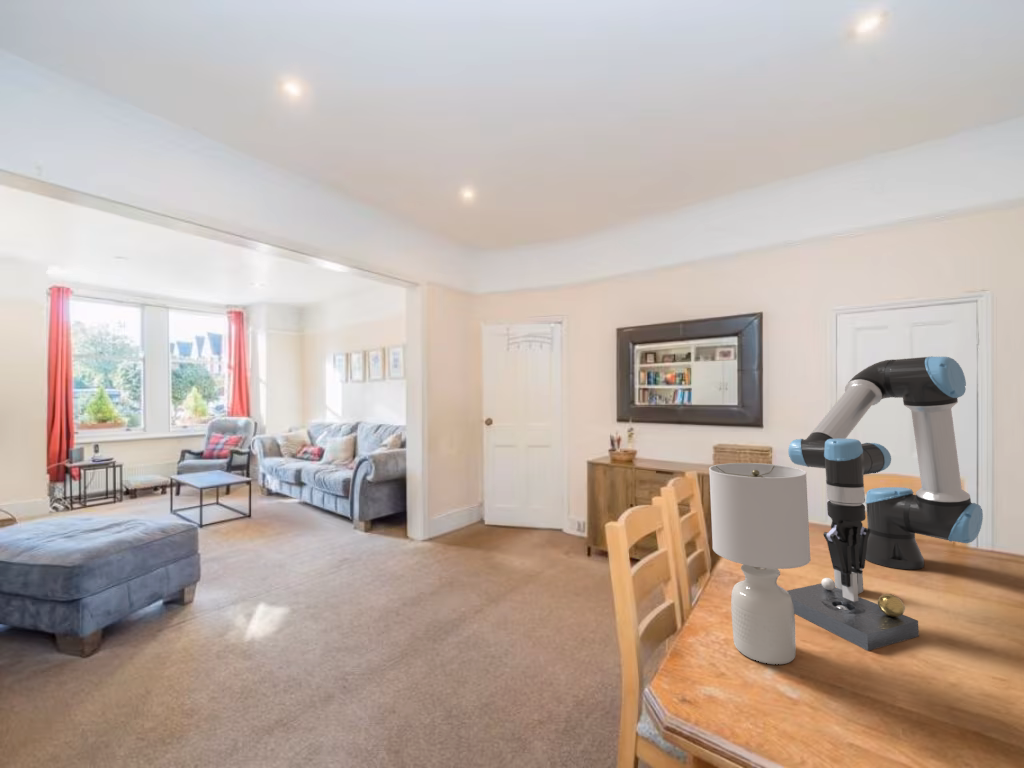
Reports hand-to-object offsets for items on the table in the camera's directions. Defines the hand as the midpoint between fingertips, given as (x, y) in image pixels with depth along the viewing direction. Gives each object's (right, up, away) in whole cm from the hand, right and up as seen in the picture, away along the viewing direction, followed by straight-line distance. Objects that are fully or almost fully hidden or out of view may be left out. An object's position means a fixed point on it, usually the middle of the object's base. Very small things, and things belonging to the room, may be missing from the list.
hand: (850, 598), depth 111 cm
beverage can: (+11, -5, +15) cm, 19 cm away
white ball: (0, 0, +8) cm, 8 cm away
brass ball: (+5, +1, -6) cm, 8 cm away
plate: (-2, -5, -1) cm, 5 cm away
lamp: (-28, -6, -12) cm, 31 cm away
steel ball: (-3, -3, -1) cm, 4 cm away
